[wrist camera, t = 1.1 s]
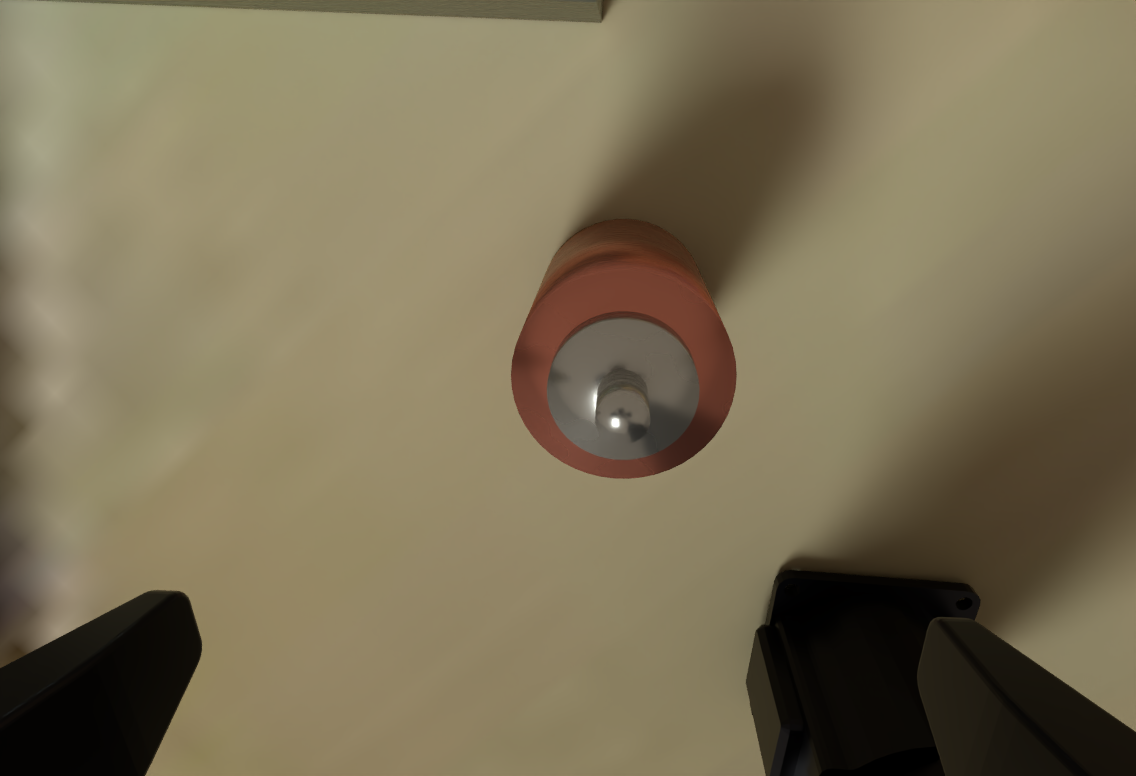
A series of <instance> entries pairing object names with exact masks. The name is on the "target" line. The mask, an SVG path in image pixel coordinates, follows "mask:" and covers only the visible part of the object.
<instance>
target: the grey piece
mask: <svg viewBox="0 0 1136 776" xmlns="http://www.w3.org/2000/svg"><path fill="white" fill-rule="evenodd" d="M39 1H65V2H90V3H116V4H141V5H167V6H192V7H218V8H243V9H269V10H294V11H320V12H345V13H371V14H396V15H422V16H447V17H473V18H498V19H524V20H549V21H575V22H600V23H601V22H602V3H603V0H39Z"/></svg>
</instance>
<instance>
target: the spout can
mask: <svg viewBox="0 0 1136 776" xmlns="http://www.w3.org/2000/svg"><path fill="white" fill-rule="evenodd" d="M511 380H512V390H513V395H514V400H515V403H516V406H517V409H518V412H519V414H520V416H521V418H522V420H523V422H524V424H525V426H526V427H527V429H528V430H529V431H530V433H531V434H532V436H533V437H534V438H535V439H536V440H537V441H538V443H539V444H540V445H541V446H542V447H543V448H544V449H546V450H547V451H548V452H549V453H550V454H551V455H553V456H554V457H556V458H557V459H559V460H560V461H562V462H563V463H565V464H567V465H569V466H571V467H573V468H575V469H578V470H580V471H583V472H586V473H589V474H593V475H597V476H601V477H609V478H639V477H645V476H650V475H655V474H658V473H661V472H664V471H667V470H670V469H672V468H674V467H676V466H678V465H680V464H682V463H684V462H685V461H687V460H688V459H690V458H691V457H693V456H694V455H695V454H697V453H698V452H699V451H700V450H702V449H703V448H704V447H705V446H706V445H707V444H708V443H709V442H710V441H711V440H712V438H713V437H714V436H715V435H716V433H717V432H718V430H719V429H720V428H721V426H722V424H723V422H724V421H725V419H726V417H727V415H728V413H729V410H730V407H731V405H732V402H733V397H734V393H735V388H736V361H735V356H734V352H733V347H732V345H731V342H730V339H729V336H728V334H727V332H726V329H725V327H724V325H723V323H722V321H721V318H720V316H719V314H718V312H717V310H716V307H715V305H714V303H713V301H712V298H711V296H710V294H709V292H708V290H707V287H706V285H705V283H704V281H703V279H702V276H701V274H700V272H699V270H698V267H697V265H696V263H695V262H694V260H693V258H692V256H691V255H690V253H689V252H688V250H687V249H686V248H685V247H684V245H683V244H682V243H681V242H680V241H679V240H678V239H676V238H675V237H674V236H673V235H671V234H670V233H669V232H667V231H665V230H663V229H662V228H660V227H658V226H655V225H653V224H650V223H647V222H643V221H639V220H632V219H614V220H608V221H603V222H600V223H596V224H594V225H591V226H589V227H587V228H585V229H583V230H581V231H580V232H578V233H576V234H575V235H574V236H572V237H571V238H570V239H569V240H567V241H566V242H565V243H564V245H563V246H562V247H561V248H560V249H559V250H558V252H557V253H556V254H555V256H554V257H553V259H552V261H551V263H550V265H549V267H548V269H547V271H546V274H545V276H544V278H543V281H542V283H541V286H540V288H539V290H538V293H537V295H536V298H535V300H534V302H533V305H532V307H531V310H530V312H529V314H528V317H527V319H526V322H525V324H524V326H523V329H522V331H521V334H520V336H519V339H518V341H517V344H516V347H515V351H514V355H513V359H512V370H511Z"/></svg>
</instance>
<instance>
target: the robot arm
mask: <svg viewBox="0 0 1136 776" xmlns="http://www.w3.org/2000/svg"><path fill="white" fill-rule="evenodd" d="M790 584H795V585H796V586H795V587H793V588H785V587H786V586H788V585H790ZM961 598H965V599H964V600H962V601H958V600H959V599H961ZM957 601H958V602H957ZM979 606H980V598H979V596H978V595H977V593H976V592H975V591H974V589H973V588H972V587H971V586H969V585H968V584H963V583H952V582H939V581H926V580H913V579H900V578H887V577H874V576H861V575H848V574H835V573H822V572H809V571H796V570H788V571H784V572H781V573H780V574H779V575H778V576H776V578H775V580H774V585H773V590H772V594H771V599H770V604H769V609H768V614H767V619H766V624H765V625H761V626H760V627H759V628H758V629H757V630H756V632H755V638H754V643H753V648H752V653H751V658H750V663H749V668H748V673H747V679H746V686H747V690H748V695H749V699H750V707H751V712H752V715H753V718H754V723H755V727H756V732H757V737H758V741H759V746H760V751H761V755H762V760H763V765H764V769H765V774H766V776H1136V732H1135V731H1134V730H1132V729H1131V728H1129V727H1128V726H1127V725H1125V724H1124V723H1122V722H1121V721H1119V720H1118V719H1116V718H1115V717H1114V716H1112V715H1111V714H1109V713H1108V712H1106V711H1105V710H1103V709H1102V708H1101V707H1099V706H1098V705H1096V704H1095V703H1093V702H1092V701H1090V700H1089V699H1088V698H1086V697H1085V696H1083V695H1082V694H1080V693H1079V692H1077V691H1076V690H1075V689H1073V688H1072V687H1070V686H1069V685H1067V684H1066V683H1064V682H1063V681H1061V680H1060V679H1059V678H1057V677H1056V676H1054V675H1053V674H1051V673H1050V672H1048V671H1047V670H1046V669H1044V668H1043V667H1041V666H1040V665H1038V664H1037V663H1035V662H1034V661H1033V660H1031V659H1030V658H1028V657H1027V656H1025V655H1024V654H1022V653H1021V652H1020V651H1018V650H1017V649H1015V648H1014V647H1012V646H1011V645H1009V644H1008V643H1007V642H1005V641H1004V640H1002V639H1001V638H999V637H998V636H996V635H995V634H994V633H992V632H991V631H989V630H988V629H986V628H985V627H983V626H982V625H981V624H979V623H977V622H976V621H974V620H975V618H976V615H977V612H978V609H979ZM201 652H202V640H201V636H200V633H199V630H198V626H197V623H196V620H195V616H194V613H193V610H192V606H191V603H190V600H189V598H188V597H187V595H186V594H185V593H183V592H180V591H166V590H153V591H148V592H146V593H144V594H142V595H140V596H138V597H136V598H134V599H132V600H130V601H128V602H126V603H124V604H122V605H121V606H119V607H117V608H115V609H113V610H111V611H109V612H107V613H105V614H103V615H101V616H100V617H98V618H96V619H94V620H92V621H90V622H88V623H86V624H84V625H82V626H80V627H78V628H77V629H75V630H73V631H71V632H69V633H67V634H65V635H63V636H61V637H59V638H57V639H56V640H54V641H52V642H50V643H48V644H46V645H44V646H42V647H40V648H38V649H36V650H34V651H33V652H31V653H29V654H27V655H25V656H23V657H21V658H19V659H17V660H15V661H13V662H11V663H10V664H8V665H6V666H4V667H2V668H0V776H145V775H146V773H147V771H148V769H149V767H150V765H151V763H152V761H153V759H154V757H155V754H156V752H157V750H158V748H159V746H160V744H161V742H162V740H163V737H164V735H165V733H166V731H167V729H168V727H169V725H170V723H171V720H172V718H173V716H174V714H175V712H176V710H177V708H178V706H179V703H180V701H181V699H182V697H183V695H184V693H185V691H186V689H187V686H188V684H189V682H190V680H191V678H192V676H193V674H194V672H195V669H196V667H197V665H198V663H199V660H200V657H201Z"/></svg>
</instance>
